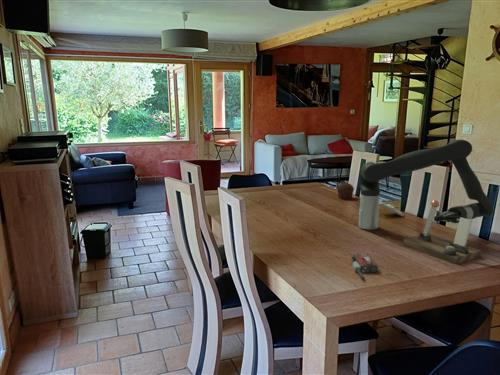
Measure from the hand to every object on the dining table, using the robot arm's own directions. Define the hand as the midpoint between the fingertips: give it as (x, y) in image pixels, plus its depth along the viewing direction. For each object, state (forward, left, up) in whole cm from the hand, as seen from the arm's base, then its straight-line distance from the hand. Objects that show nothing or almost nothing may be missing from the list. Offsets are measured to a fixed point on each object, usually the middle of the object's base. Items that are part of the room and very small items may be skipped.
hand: (435, 219), depth 175 cm
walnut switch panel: (0, -10, -11) cm, 15 cm away
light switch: (-10, +47, -11) cm, 49 cm away
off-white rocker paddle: (+4, -17, -7) cm, 18 cm away
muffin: (-30, +88, -11) cm, 94 cm away
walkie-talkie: (-35, -34, -12) cm, 50 cm away
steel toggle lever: (-5, -4, -7) cm, 9 cm away
